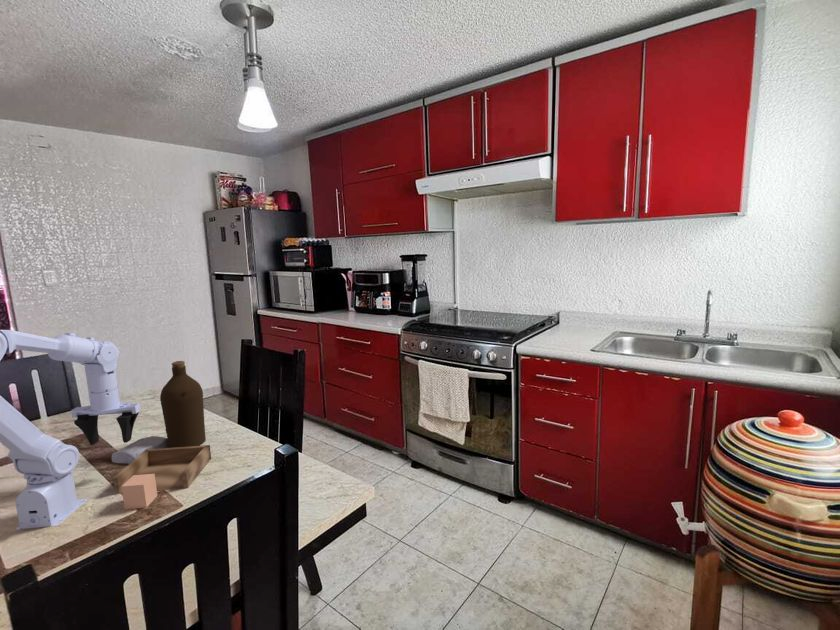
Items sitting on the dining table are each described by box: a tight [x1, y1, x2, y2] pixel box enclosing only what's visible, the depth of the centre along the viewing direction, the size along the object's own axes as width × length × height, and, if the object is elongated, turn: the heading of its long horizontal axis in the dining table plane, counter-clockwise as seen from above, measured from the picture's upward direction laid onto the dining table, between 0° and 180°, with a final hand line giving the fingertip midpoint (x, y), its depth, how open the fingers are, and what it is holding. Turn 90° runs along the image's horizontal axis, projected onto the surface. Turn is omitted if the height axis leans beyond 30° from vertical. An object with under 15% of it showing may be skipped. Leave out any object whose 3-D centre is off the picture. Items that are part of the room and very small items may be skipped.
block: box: [121, 474, 158, 510], centre depth 91 cm, size 4×4×6 cm
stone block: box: [111, 435, 169, 465], centre depth 114 cm, size 12×5×10 cm
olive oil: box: [159, 360, 207, 448], centre depth 118 cm, size 11×11×25 cm
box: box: [112, 444, 212, 495], centre depth 102 cm, size 14×16×4 cm
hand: (111, 442), depth 102 cm, fingers open, 7 cm apart
